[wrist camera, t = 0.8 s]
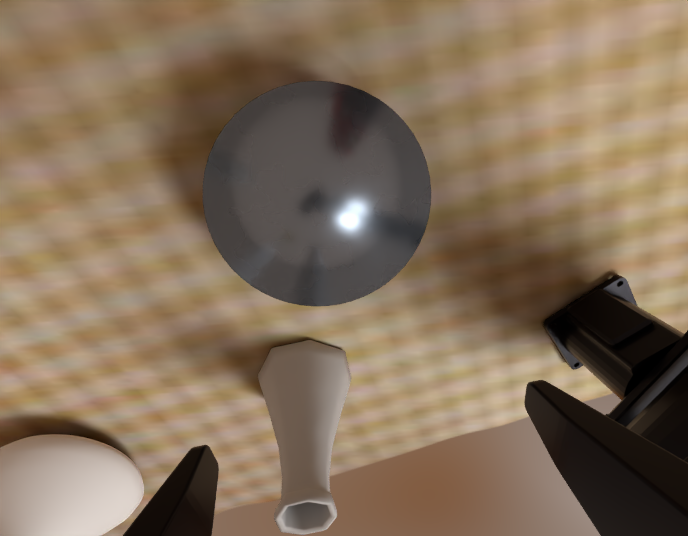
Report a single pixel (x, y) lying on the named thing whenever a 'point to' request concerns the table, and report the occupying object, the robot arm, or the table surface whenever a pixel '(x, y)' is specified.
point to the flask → (305, 428)
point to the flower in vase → (65, 487)
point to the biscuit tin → (316, 193)
